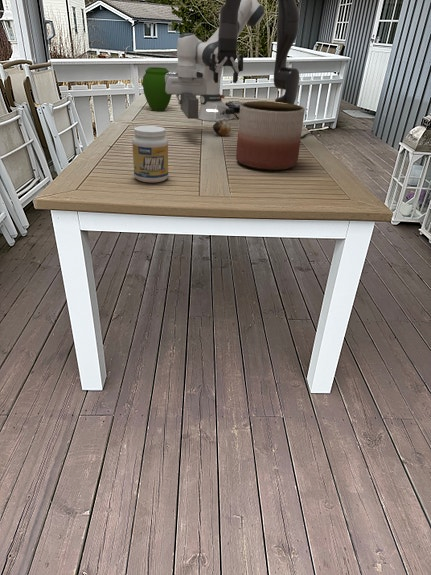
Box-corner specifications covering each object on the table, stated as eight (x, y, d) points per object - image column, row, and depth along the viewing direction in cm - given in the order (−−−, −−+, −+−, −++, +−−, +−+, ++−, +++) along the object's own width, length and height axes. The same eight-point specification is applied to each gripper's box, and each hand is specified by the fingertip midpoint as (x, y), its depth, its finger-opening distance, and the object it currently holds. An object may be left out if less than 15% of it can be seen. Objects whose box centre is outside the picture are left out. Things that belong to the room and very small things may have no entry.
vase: (143, 107, 275) (142, 66, 262) (173, 108, 277) (172, 67, 264) (142, 112, 259) (140, 68, 246) (173, 113, 261) (173, 70, 248)
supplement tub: (139, 184, 140) (136, 133, 131) (130, 174, 149) (127, 125, 140) (173, 181, 144) (172, 131, 135) (162, 172, 153) (161, 124, 144)
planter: (305, 172, 161) (315, 112, 150) (243, 172, 157) (248, 110, 146) (285, 155, 183) (293, 101, 171) (230, 155, 178) (233, 100, 167)
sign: (225, 107, 272) (224, 100, 297) (225, 111, 274) (224, 105, 299) (253, 108, 272) (250, 101, 298) (253, 113, 274) (250, 106, 299)
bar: (180, 108, 207) (180, 91, 202) (189, 108, 208) (189, 91, 203) (188, 118, 185) (188, 99, 181) (198, 118, 186) (198, 99, 182)
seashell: (229, 134, 215) (230, 118, 210) (231, 136, 210) (232, 120, 206) (212, 134, 213) (212, 117, 209) (213, 136, 209) (214, 119, 204)
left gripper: (165, 73, 190) (165, 105, 198) (208, 74, 194) (207, 105, 202) (163, 71, 196) (164, 102, 203) (205, 72, 200) (204, 103, 207)
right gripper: (215, 36, 156) (213, 83, 165) (248, 38, 161) (244, 83, 170) (207, 36, 162) (206, 81, 171) (239, 37, 167) (236, 81, 176)
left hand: (186, 104), depth 202 cm, fingers closed on bar, 5 cm apart
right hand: (225, 82), depth 170 cm, fingers open, 8 cm apart
